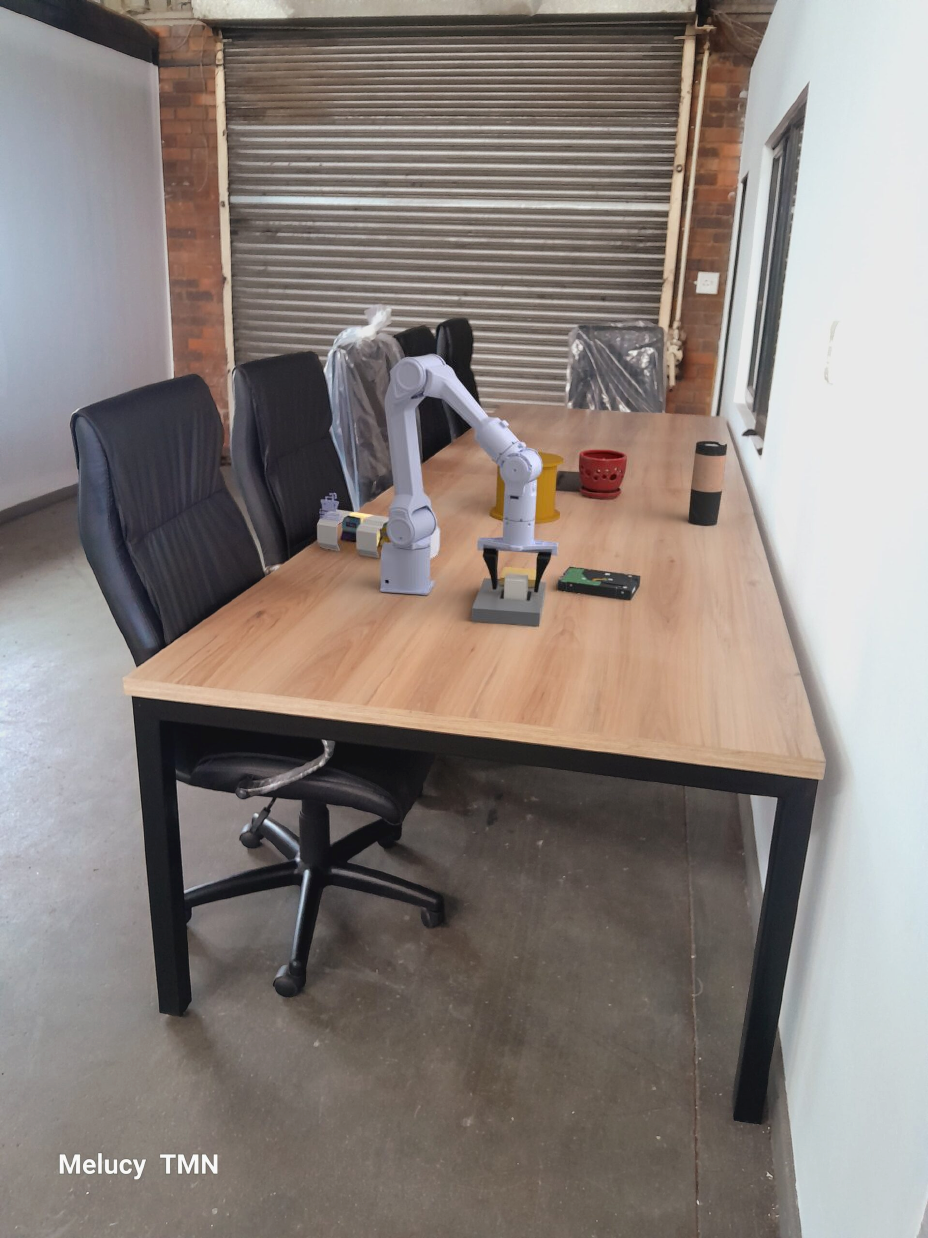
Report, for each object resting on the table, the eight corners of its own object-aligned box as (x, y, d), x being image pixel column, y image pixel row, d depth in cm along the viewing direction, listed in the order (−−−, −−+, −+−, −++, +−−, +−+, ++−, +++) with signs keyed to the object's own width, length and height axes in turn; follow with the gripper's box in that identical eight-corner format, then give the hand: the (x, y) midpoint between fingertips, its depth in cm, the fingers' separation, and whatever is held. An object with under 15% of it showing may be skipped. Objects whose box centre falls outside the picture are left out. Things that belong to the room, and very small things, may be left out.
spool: (562, 524, 236) (566, 464, 231) (489, 522, 237) (492, 462, 231) (557, 507, 253) (560, 451, 248) (489, 505, 253) (491, 449, 248)
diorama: (317, 550, 210) (315, 492, 206) (342, 539, 219) (341, 483, 215) (417, 567, 200) (418, 506, 196) (439, 555, 209) (440, 496, 205)
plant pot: (567, 492, 271) (570, 450, 266) (607, 489, 276) (610, 447, 272) (592, 502, 259) (595, 458, 255) (632, 499, 265) (636, 456, 261)
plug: (505, 603, 179) (506, 573, 177) (526, 605, 179) (528, 574, 177) (503, 610, 176) (504, 579, 174) (524, 612, 175) (526, 581, 173)
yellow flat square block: (499, 584, 181) (500, 577, 181) (503, 574, 188) (503, 566, 187) (536, 587, 181) (537, 579, 180) (539, 576, 187) (539, 569, 187)
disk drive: (639, 588, 192) (567, 578, 197) (641, 575, 191) (569, 565, 196) (630, 604, 183) (555, 592, 188) (632, 590, 182) (556, 579, 187)
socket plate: (471, 621, 170) (472, 608, 169) (483, 589, 187) (484, 577, 186) (539, 626, 168) (539, 613, 167) (545, 594, 185) (545, 582, 184)
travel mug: (686, 524, 239) (695, 444, 233) (687, 517, 246) (696, 439, 240) (718, 527, 238) (727, 447, 231) (718, 520, 245) (727, 441, 238)
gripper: (476, 520, 169) (473, 593, 173) (558, 525, 167) (553, 599, 172) (481, 511, 175) (478, 581, 180) (560, 516, 174) (555, 587, 178)
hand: (515, 589), depth 176 cm, fingers open, 7 cm apart
